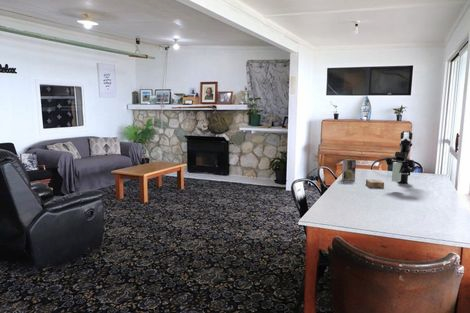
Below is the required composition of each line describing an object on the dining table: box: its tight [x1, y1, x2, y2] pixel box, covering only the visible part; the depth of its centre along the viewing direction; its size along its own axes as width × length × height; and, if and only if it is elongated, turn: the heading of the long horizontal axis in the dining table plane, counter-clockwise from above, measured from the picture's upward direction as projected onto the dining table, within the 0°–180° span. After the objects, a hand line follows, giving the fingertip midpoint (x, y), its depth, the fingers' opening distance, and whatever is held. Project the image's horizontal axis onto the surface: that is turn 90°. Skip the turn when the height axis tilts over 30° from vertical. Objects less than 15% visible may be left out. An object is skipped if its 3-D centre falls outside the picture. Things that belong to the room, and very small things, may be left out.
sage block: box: [391, 162, 402, 183], centre depth 256 cm, size 4×4×13 cm
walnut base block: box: [365, 178, 385, 189], centre depth 269 cm, size 10×10×4 cm
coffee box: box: [341, 158, 357, 181], centre depth 291 cm, size 9×6×16 cm
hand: (396, 172), depth 255 cm, fingers closed on sage block, 4 cm apart
